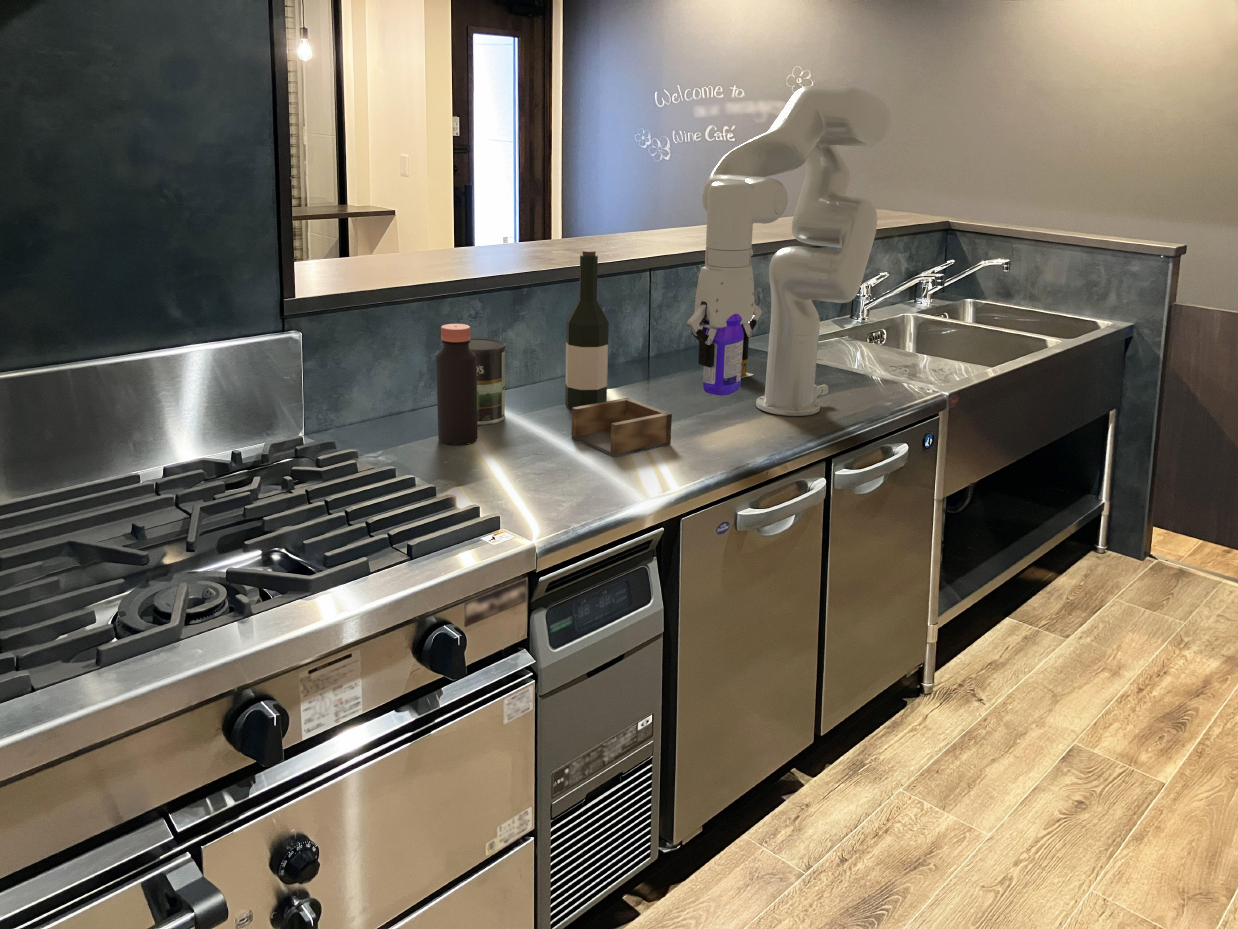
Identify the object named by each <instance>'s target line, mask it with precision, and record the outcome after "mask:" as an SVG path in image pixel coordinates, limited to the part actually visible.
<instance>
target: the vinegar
mask: <svg viewBox="0 0 1238 929" xmlns="http://www.w3.org/2000/svg"><path fill="white" fill-rule="evenodd" d="M471 334H472V333H471V326H470V325H468V324H465V323H448V324H443V325H441V326H440V337H441V338H440V339H441V343H442V344H443V345H442V346H443V348H441V350H440V351H439V352H438V353H437V354H436V357H435V363H436V364H435V365H436V366H435V367H436V368H435V369H436V370H435V371H436V398H437V399H436V400H437V404H436V405H437V406H436V407H437V436H438V440H439V442H441V443H442V444H445V445H450V446H465V445H470V444H473V443H476V442H477V440H478V436H479V435H478V430H479V429H478V428H479V427H478V426H479V425H478V424H477V358H476V355H475V353H474V352H473V351H472V350H471V349H470V348H469V343H470V339H471V338H472V336H471Z"/></svg>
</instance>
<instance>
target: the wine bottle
mask: <svg viewBox="0 0 1238 929" xmlns="http://www.w3.org/2000/svg"><path fill="white" fill-rule="evenodd" d="M598 258H599V256H598V254H596V250H595V249H594V250H593V249H585V250H582V254H580V255H579V292H578V294H579V295H578V301H577V302H576V304H575V305H574V307H573V309H572V310H571V312H570V313H569V315H568V316H567V318H566V326H565V329H566V330H565V334H566V335H565V383H564V384H565V388H564V389H565V390H564V391H565V393H564V401H565V402H564V404H565V406H566V407H567V409H571V410H572V408H573V407H579V406H584V405H590V404H595V403H601V402H606V401H607V398H608V395H607V394H608V369H609V368H608V362H609V361H608V359H609V358H608V357H609V356H608V355H609V333H610V332H609V330H610V328H609V325H610V324H609V323H610V322H609V320H608V319H607V317H606V314H605V313H604V311H603V310H602V308H601V305H600V304H599V301H598V299H597V298H598V269H599V268H598V264H599V262H598Z"/></svg>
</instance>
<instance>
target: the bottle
mask: <svg viewBox="0 0 1238 929" xmlns="http://www.w3.org/2000/svg"><path fill="white" fill-rule="evenodd" d="M741 321H742V317H741V316H740V315H739V314H733V315H732V316H730V317H729V318H728V320H727V321H726V323H727V326H726V327H724V328H721V329H717V332H716V334H715V336H714V339H713V341H712V343H711V344H714V346H715V348H714V366H713V367H711V368H709V367H706V366H703V376H702V377H703V380H702V387H703V390H704V392H705V393H706V394H711V395H715V396H723V397H724V396H728V395H731V394H732V395H733V394H734V393H736V392H737V391H739V390H740V387H741V383H742V380H741V379H742V378H741V370H742V352H743V338H744V334H743V329H742V327H741V325H740V322H741ZM708 332H709V329H707V331H706V335H707V334H708Z"/></svg>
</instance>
